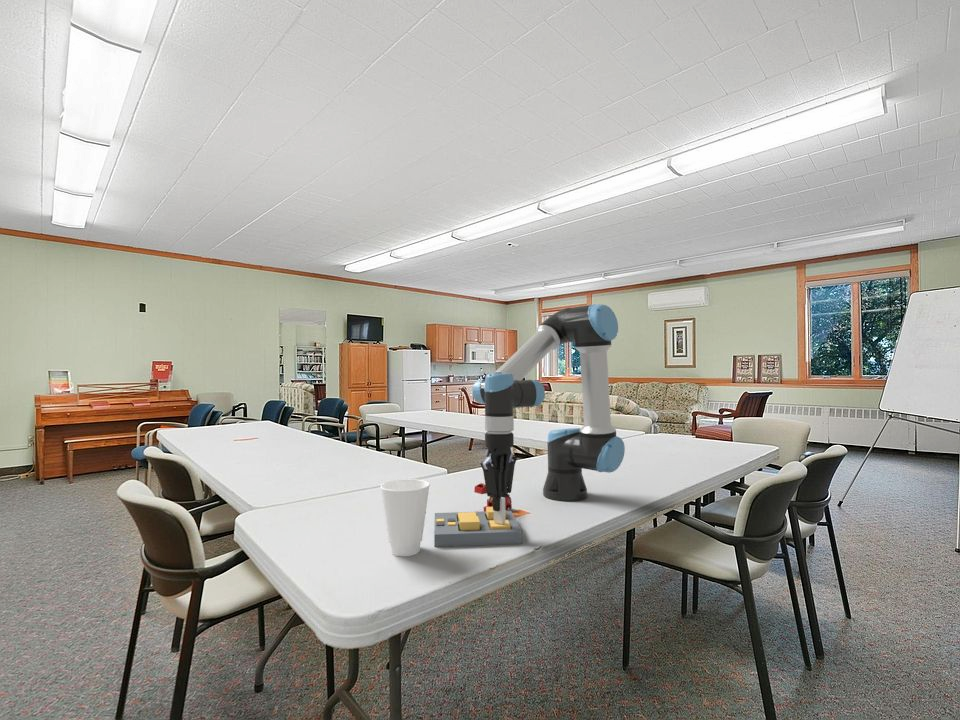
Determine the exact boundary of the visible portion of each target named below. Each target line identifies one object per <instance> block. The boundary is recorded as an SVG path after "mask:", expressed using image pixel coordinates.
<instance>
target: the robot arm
mask: <svg viewBox="0 0 960 720" xmlns="http://www.w3.org/2000/svg"><path fill="white" fill-rule="evenodd" d="M618 333H619V322H618V318H617V315H616V314H615V311H613V310H612V308H611V307H610V306H608V305H606V304H588V305H583V306H574V307H566V308H563V309H560V310H558V311H557V312H555V313H553V314H552V315H550V316H548V317H547V318H546V319H545V320H544V321H542V322H541V324H539V325H537V327H536V328H535V330H534V334H533V335H532V336H531V337H530V338H529V339H528V340H527V341H526V342H525V343H524V344H523V345H521V347H520V348H519V349H518V350H516V351H515V352H514V353H513V355H511V356H510V357H509V358H508V359H507V360H506V361H505V362H504V363H503V364H502V365H501V366H500V367H499V368H498V369H497V370H496V371H495V372H494V373H487V374H486V375H485V378H483V379H479V380H476V381H475V382H474V384H473V386H472V392H471V394H472V397H473V399H474V401H475V402H476V403H478V404H480V405H484V420H485V421H484V430H485V431H486V432H485V433H484V446H485V447H486V448H487V453H486V458H485V460H481V461H480V467H481V468H482V472H483V478H484V484H485V485H486V491H487V493H486V496H487V497H489V498H490V497H492V498H493V510H494V522H495V523H499V524H504V523H505V508H506V497H511V496H510V494H511V493H512V489H513V481H514V472H515V466H516V463H517V459H518V457H517V455H513V454H512V449H511V448H513V447H514V444H515V443H514V436H515V435H514V433H513V431H514V429H515V427H514V422H515V421H514V417H515V416H514V409H515V408H517V409H518V408H533V407H538V406H541V404H542V403H543V402H544V401H545V395H546V390H545V387H544V385H543V383H541V381H539V380H534V379H524V378H526V376H527V375H528V374H529V373H530V372H531V371H532V370H533V369H534V368H535V367H536V366H537V365H538V364H539V363H540V362H541V361H542V360H543V359H544V358H545V357H546V356H547V355H548V353H550V352H551V351H553V350H554V351H555V350H557V349H559V347H560V346H561V345H564V344H567V343H574V349H576V350H577V351H578V353H579V361H580V362H579V363H580V375H581V376H580V377H581V379H580V380H581V395H582V412H583V414H582V415H583V425H582V427H569V428H561V429H554V430H553V429H552V430H550V431H549V432H548V434H547V474H546V479H545V481H544V483H543V484H544V485H543V488H542V495H543V497H545V498H547V499H550V500H556V501H564V502H565V501H566V502H572V501H581V500H585V499H586V498H587V497H588V488H587V486H586V483H585V479H584V476H583V470H589V471H590V470H591V471H596V472H598V473H609V474H610V473H614V472H615V471H616V470H618V469H619V468H620V466H621V464H622V462H623V460H624V457H625V451H626V449H625V447H626V445H625V442H624V440H623V438H621V437H620V436H617V429H616V428H615V427H614V426H613V425H612V422H611V419H612V418H611V403H610V402H611V401H610V386H609V368H608V367H609V366H608V363H609V362H608V350H610V348H611V347H612V341H613V340H615V339H616V338H617V336H618Z"/></svg>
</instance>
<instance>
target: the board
mask: <svg viewBox="0 0 960 720" xmlns="http://www.w3.org/2000/svg"><path fill="white" fill-rule="evenodd" d="M462 512H463V511H455V512H452V511H451V512H434V536H433V537H434V541H433V542H434V547H435V548H436V547H437V548H438V547H441V548H442V547H462V546H463V547H464V546H491V545H493V546H494V545H515V544H517V545H518V543H522V544H523V530H522V528H521V527H520V525H519V522H518V521H517V519H516V517H515V515H514V514H513V512H512V510H509V511H507V510H506V519H505V520H508V521H509V523H510V525H511V529H499V530H490V528H489V520H490V519H489V520H488V518H487V515H486V511H484V510H483V511H475V512H476V515H477V516H478V518H479V521H480V530H470V531H463V530H460V526H459V521H458V513H462Z"/></svg>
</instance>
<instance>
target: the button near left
mask: <svg viewBox="0 0 960 720" xmlns="http://www.w3.org/2000/svg"><path fill="white" fill-rule="evenodd" d="M489 528H490V530H499V529H511V525H510V523H509V521H508V520H505V523H504V524H499V523H495V522H494V520H489Z"/></svg>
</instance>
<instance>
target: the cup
mask: <svg viewBox="0 0 960 720" xmlns="http://www.w3.org/2000/svg"><path fill="white" fill-rule="evenodd" d="M430 486H431V484H430V483H429V482H428V481H426V480H422V479H413V478H411V479H410V478H409V479H408V478H407V479H406V478H405V479H395V480H391V481H390V480H389V481H386V482H384V483H382V484H381V485H380V491H381V496H382V497H381V498H382V504H383V512H384V519H385V526H386V532H387V533H386V534H387V540H388V543H389V546H390V547H389V548H390V553H391V554H392V555H393V556H395V557H410V556H414V555H417V554H419V553H420V550H421V544H422V543H421V542H422V540H423V535H424V528H425V527H424V526H425V520H426V513H427V504H428V498H429V490H430Z"/></svg>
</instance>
